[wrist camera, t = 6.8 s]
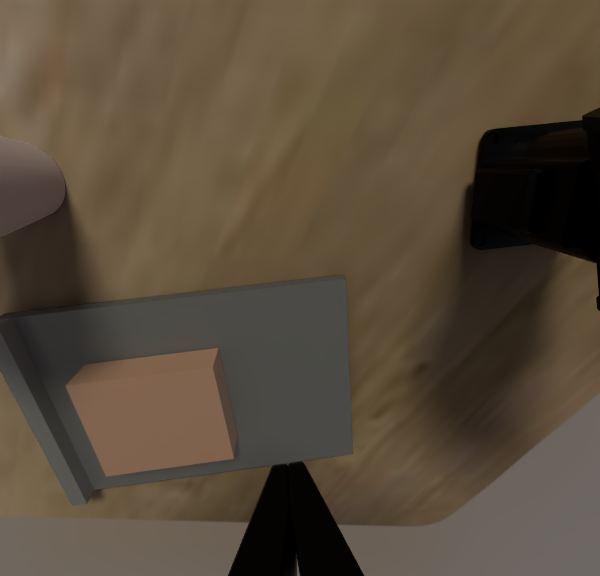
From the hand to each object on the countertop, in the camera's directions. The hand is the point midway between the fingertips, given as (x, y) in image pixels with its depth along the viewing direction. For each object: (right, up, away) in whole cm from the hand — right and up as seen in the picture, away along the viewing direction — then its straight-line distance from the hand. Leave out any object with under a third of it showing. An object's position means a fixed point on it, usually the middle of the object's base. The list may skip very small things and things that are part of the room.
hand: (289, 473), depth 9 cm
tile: (-4, -2, +11) cm, 12 cm away
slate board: (-6, -2, +13) cm, 15 cm away
